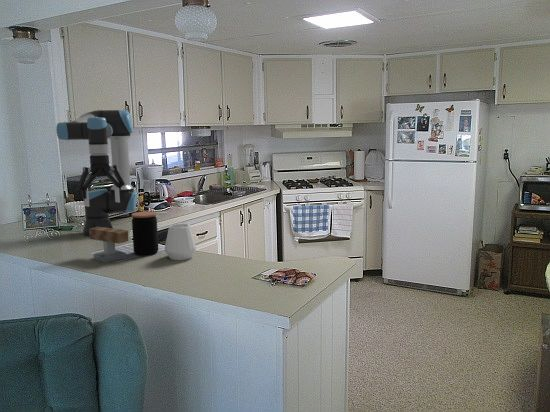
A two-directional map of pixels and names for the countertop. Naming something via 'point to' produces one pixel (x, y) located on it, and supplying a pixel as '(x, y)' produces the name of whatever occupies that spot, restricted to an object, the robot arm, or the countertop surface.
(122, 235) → the walnut bar
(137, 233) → the coffee jar
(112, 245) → the slate fulcrum
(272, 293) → the countertop surface
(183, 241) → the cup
